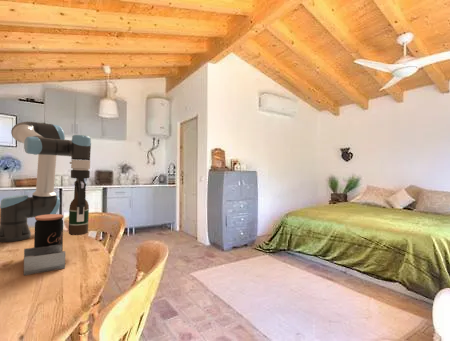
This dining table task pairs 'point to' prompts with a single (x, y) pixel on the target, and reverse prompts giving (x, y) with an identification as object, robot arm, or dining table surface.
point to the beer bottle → (75, 226)
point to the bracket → (43, 259)
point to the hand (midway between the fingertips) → (78, 219)
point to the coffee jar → (48, 230)
